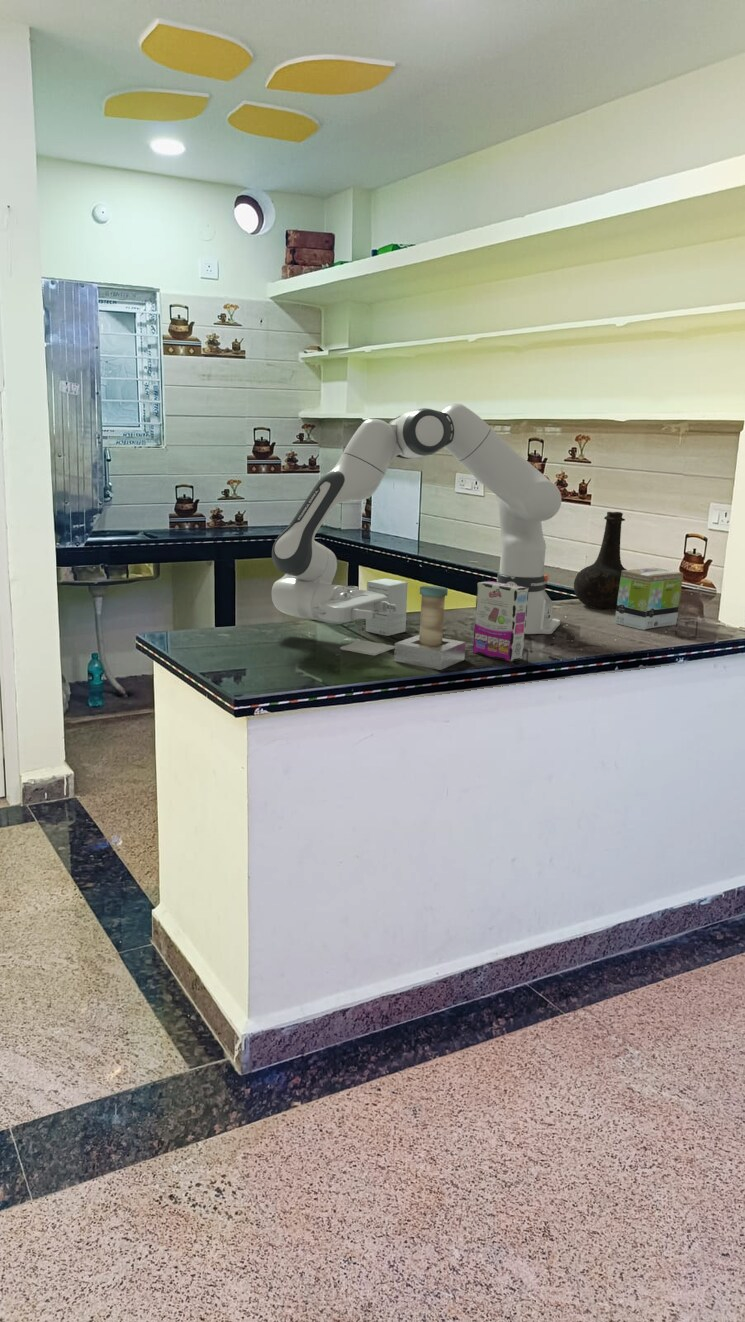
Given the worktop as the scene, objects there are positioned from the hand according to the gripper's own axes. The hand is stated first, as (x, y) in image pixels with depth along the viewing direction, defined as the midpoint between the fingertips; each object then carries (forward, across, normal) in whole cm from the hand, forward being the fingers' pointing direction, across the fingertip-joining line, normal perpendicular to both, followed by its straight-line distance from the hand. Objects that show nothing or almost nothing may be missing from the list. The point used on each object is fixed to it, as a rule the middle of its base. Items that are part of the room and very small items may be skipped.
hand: (384, 612), depth 206 cm
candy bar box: (+22, +14, +9) cm, 28 cm away
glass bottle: (+22, +90, +9) cm, 93 cm away
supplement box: (-10, +18, +9) cm, 23 cm away
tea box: (+39, +74, +9) cm, 84 cm away
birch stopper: (+12, 0, +9) cm, 15 cm away
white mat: (-4, 0, +9) cm, 10 cm away
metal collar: (+12, 0, +9) cm, 15 cm away
